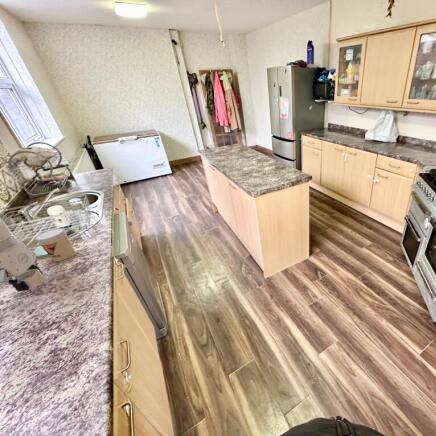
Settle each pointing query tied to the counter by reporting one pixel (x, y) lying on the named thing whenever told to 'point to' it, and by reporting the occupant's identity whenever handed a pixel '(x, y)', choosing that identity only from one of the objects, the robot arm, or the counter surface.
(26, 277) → the bowl
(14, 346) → the counter surface
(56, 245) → the coffee cup
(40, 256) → the light green flat piece
